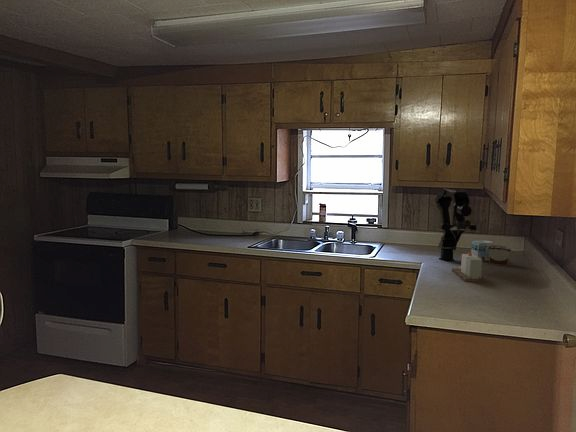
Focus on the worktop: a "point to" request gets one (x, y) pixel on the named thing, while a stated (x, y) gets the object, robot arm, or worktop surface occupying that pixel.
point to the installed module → (473, 267)
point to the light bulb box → (481, 249)
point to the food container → (499, 255)
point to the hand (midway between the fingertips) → (456, 242)
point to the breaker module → (463, 262)
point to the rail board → (466, 278)
